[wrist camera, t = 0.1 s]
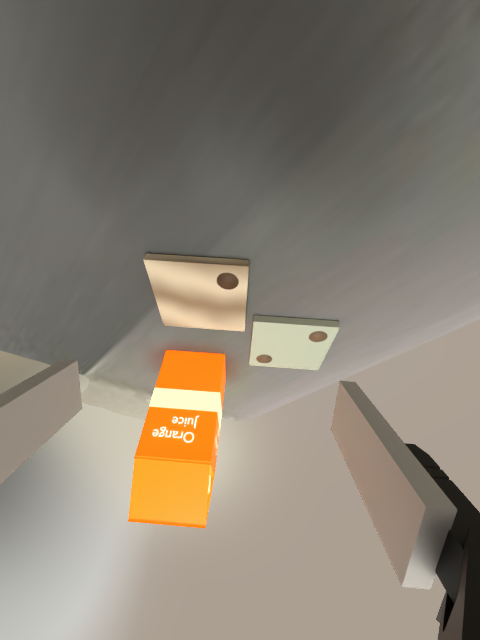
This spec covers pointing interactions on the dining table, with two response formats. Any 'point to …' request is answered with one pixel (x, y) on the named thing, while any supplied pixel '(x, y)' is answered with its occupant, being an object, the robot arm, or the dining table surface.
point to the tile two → (291, 341)
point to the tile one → (199, 290)
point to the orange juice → (179, 441)
